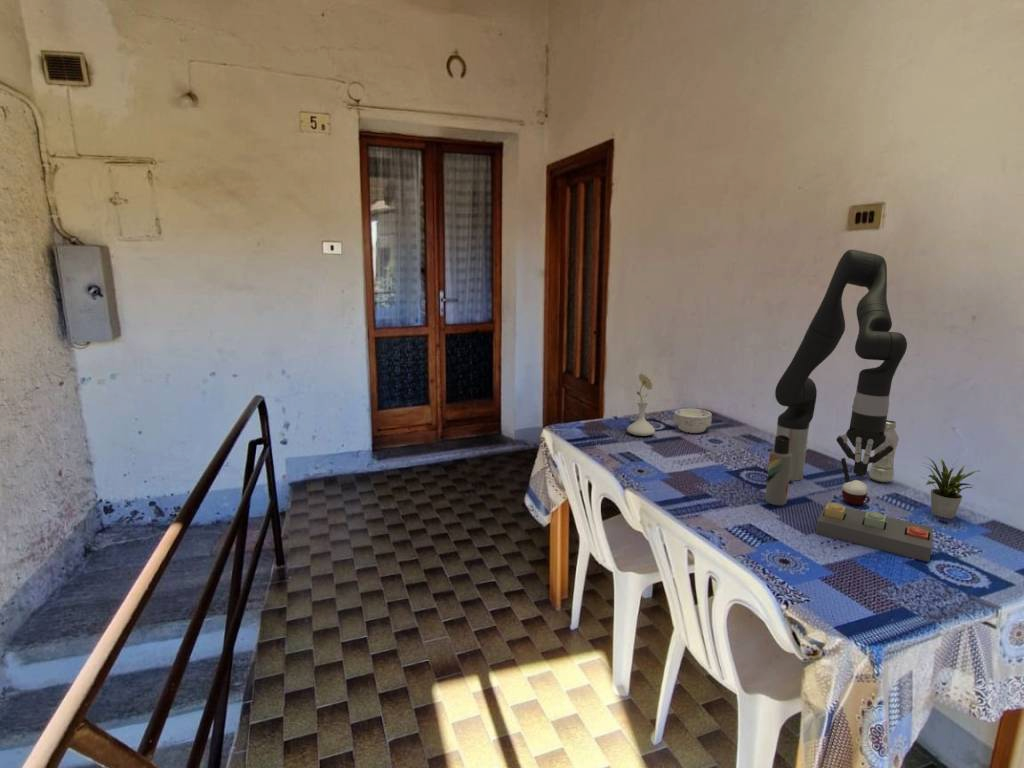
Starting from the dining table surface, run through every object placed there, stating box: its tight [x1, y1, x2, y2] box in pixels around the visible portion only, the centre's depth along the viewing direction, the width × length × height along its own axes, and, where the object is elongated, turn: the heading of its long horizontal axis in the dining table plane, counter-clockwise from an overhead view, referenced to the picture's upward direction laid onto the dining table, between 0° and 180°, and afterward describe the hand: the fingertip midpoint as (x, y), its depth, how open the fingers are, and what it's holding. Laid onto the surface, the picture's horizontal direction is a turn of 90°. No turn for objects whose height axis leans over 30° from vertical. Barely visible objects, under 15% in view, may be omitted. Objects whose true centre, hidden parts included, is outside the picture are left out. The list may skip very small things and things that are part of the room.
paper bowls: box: [673, 408, 713, 434], centre depth 238 cm, size 15×15×8 cm
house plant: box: [920, 455, 980, 519], centre depth 158 cm, size 14×14×16 cm
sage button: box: [864, 511, 887, 530], centre depth 145 cm, size 4×4×4 cm
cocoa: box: [840, 457, 871, 506], centre depth 166 cm, size 10×6×12 cm, turn 2°
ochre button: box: [824, 502, 847, 520], centre depth 150 cm, size 4×4×4 cm
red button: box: [906, 526, 928, 540], centre depth 140 cm, size 4×4×4 cm
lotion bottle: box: [765, 435, 792, 507], centre depth 164 cm, size 6×6×20 cm
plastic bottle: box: [868, 419, 900, 483], centre depth 181 cm, size 6×7×20 cm
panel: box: [815, 502, 934, 563], centre depth 145 cm, size 24×14×4 cm, turn 53°
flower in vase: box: [626, 372, 656, 437], centre depth 231 cm, size 13×11×25 cm
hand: (859, 475), depth 146 cm, fingers closed
